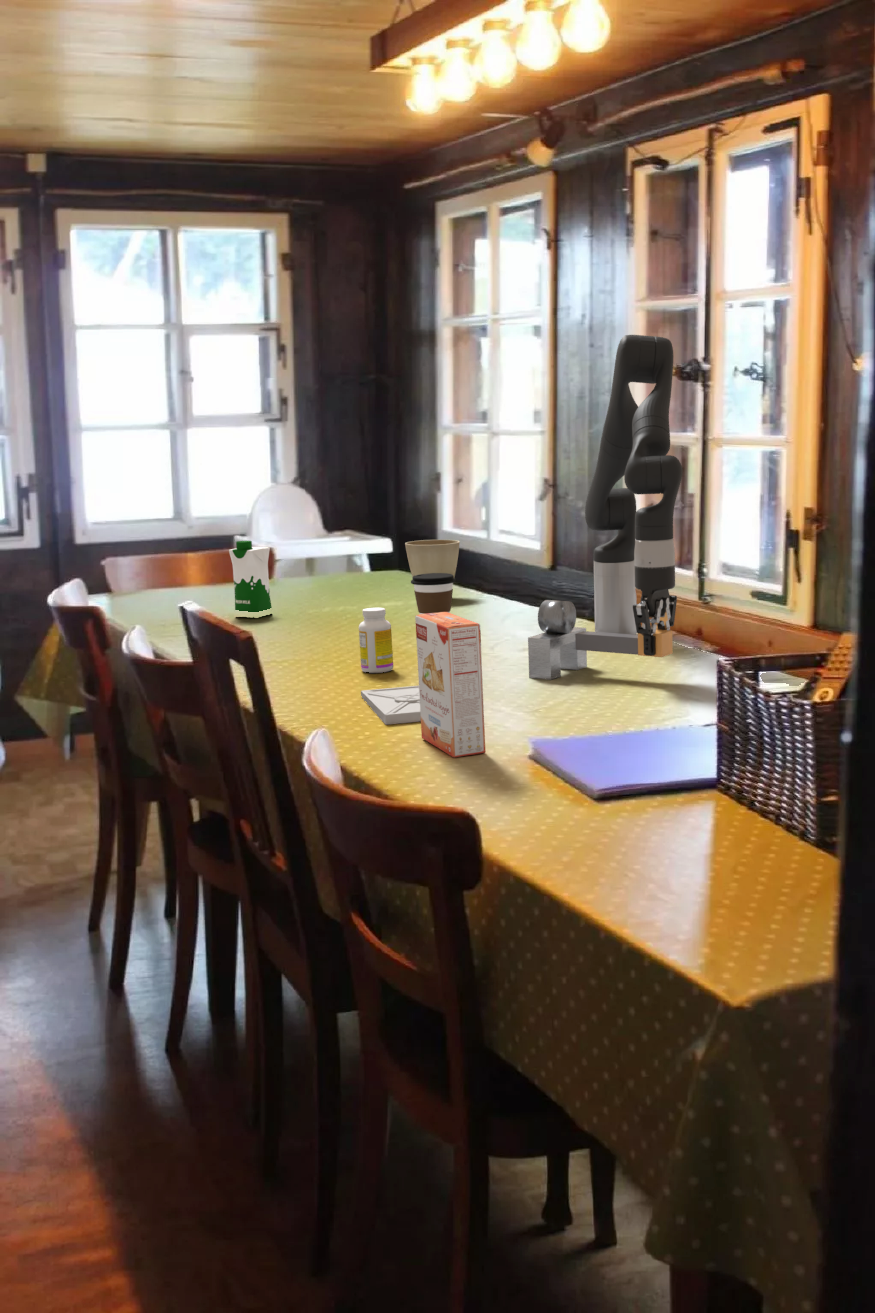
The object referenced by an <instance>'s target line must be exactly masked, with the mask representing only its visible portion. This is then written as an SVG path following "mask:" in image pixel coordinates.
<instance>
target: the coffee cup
mask: <svg viewBox="0 0 875 1313" xmlns="http://www.w3.org/2000/svg"><path fill="white" fill-rule="evenodd" d="M411 577H412V576H411ZM456 580H457V579H456V578H455V576H454V575H452V574H448V573H428V574H419V575H415V576H413V577H412V579H411V580H410V584H412V585H413V588H414V591H413V592H414V596H415V603H416V608H417V612H418V615H419V614H426V613H439V612H448V613H451V609H452V608H451V607H452V600H453V591H454V589H453V585H454V584H455V582H457V581H456Z"/></svg>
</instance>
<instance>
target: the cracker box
mask: <svg viewBox="0 0 875 1313" xmlns="http://www.w3.org/2000/svg"><path fill="white" fill-rule="evenodd" d="M414 620H415V636H416V649H417V650H416V654H417V655H416V656H417V673H418V674H417V675H418V686H419V695H420V714H421V721H420V729H421V739H423V740H425V741H426V742H427V743H429V744H431V745H433V747H436V748H438V749H439V750H440V751H443V752H444V753H446V754H447V755H449V757H451V758H460V757H467V756H473V755H480V754H485V753H486V736H485V734H486V732H485V710H484V708H485V707H484V688H483V686H484V685H483V684H484V683H483V660H482V657H483V656H482V639H481V635H482V634H481V624H480V623H478V622H475V621H472V620H470V619H467V618H463V617H461V616H459V615H456V614H454V613H451V612H450V613H448V612H439V613H426V614H419V613H418V614H416V615H415V619H414Z"/></svg>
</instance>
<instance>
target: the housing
mask: <svg viewBox="0 0 875 1313" xmlns="http://www.w3.org/2000/svg"><path fill="white" fill-rule="evenodd" d="M537 612H538V613H537V624H538V627H539V628H540V630H541V631H542V632H541V633H538V634H535V635H533V636H529V637H527V645H528V646H527V647H528V648H527V651H528V678H529V679H537V680H538V679H539V680H540V679H541V680H547V681H548V680H550V681H551V680H555V679H558V678H560V677H562V676H561V675H562V673H561V671H562V670H574V671H580V670H582V669H584V668H585V669H586V668H587V667H588V664H587V663H588V661H587V660H588V654H587V652H588V651H585V650H576V642H575V634H576V633H579V632H582V631H587V628H586V627H578V626H576V621H577V611H576V607H575V605H574V603H573V602H572V601H568V600H553V599H552V600H551V599H545V600H544V601H542V603H541V604H540V606H539V609H538V611H537Z"/></svg>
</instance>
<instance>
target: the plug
mask: <svg viewBox="0 0 875 1313" xmlns="http://www.w3.org/2000/svg"><path fill="white" fill-rule="evenodd" d="M655 636H656V654H655V655H653V656H651V657H655V658H664V657H667V656H669V655H672V654H674V652H673V650H674V649H673V648H674V647H673V630H672V629H670V630H658V629H656V634H655ZM575 642H576V650H585V651H587V652H598V653H599V652H600V653H609V654H610V653H614V654H624V655H635V656H636V655H637V656H639V657H640V656H641V657H642V656H643V657H650V656H649V655H645V654H644V640H643V635H642V634H639V633H637V634H636V635H632V634H618V633H604V632H595V631H587V630H586V631H582V632H579V633H576V634H575Z"/></svg>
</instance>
